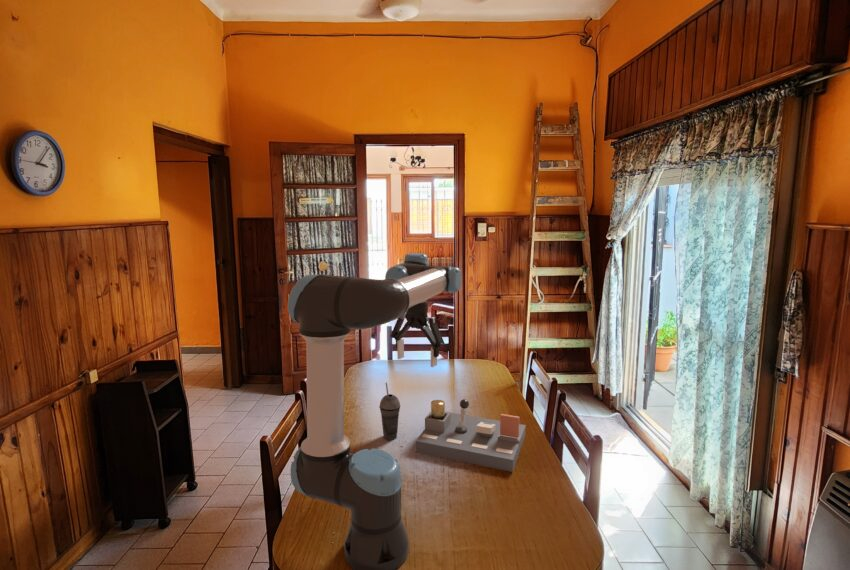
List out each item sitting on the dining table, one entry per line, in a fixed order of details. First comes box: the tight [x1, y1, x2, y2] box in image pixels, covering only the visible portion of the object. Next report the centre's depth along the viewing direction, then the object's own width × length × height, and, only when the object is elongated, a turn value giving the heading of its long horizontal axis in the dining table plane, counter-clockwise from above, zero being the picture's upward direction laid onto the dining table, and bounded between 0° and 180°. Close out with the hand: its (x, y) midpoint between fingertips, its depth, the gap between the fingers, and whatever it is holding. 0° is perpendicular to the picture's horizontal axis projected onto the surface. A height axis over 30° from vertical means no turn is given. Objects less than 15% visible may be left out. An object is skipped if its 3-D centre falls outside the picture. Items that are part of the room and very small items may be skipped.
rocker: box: [476, 422, 495, 434], centre depth 156 cm, size 7×5×2 cm
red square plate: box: [499, 413, 520, 438], centre depth 153 cm, size 1×6×7 cm, turn 69°
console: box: [415, 411, 527, 473], centre depth 158 cm, size 24×32×8 cm
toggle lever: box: [459, 398, 470, 426], centre depth 160 cm, size 3×3×9 cm
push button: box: [430, 399, 446, 420], centre depth 161 cm, size 5×5×6 cm
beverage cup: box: [378, 382, 401, 441], centre depth 161 cm, size 7×7×20 cm
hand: (416, 362), depth 157 cm, fingers open, 13 cm apart
